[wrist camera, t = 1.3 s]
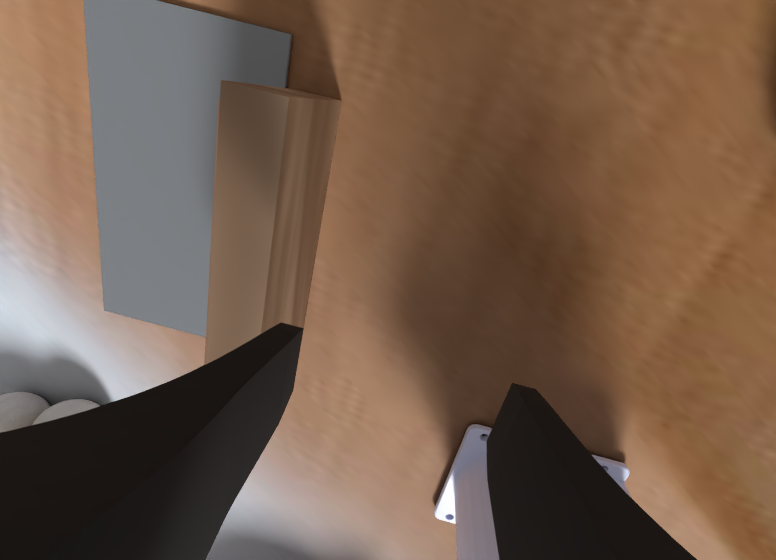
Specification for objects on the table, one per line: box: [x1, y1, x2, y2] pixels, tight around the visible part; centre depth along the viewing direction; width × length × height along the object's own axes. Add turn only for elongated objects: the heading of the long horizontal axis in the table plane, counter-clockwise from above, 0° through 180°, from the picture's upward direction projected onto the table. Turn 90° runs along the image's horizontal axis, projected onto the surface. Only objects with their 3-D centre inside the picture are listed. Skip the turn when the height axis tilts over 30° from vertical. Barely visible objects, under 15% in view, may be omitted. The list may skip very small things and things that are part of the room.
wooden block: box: [205, 80, 342, 365], centre depth 17 cm, size 2×12×7 cm, turn 167°
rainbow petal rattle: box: [0, 392, 100, 433], centre depth 25 cm, size 8×10×7 cm
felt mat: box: [84, 0, 292, 337], centre depth 20 cm, size 9×16×1 cm, turn 167°
